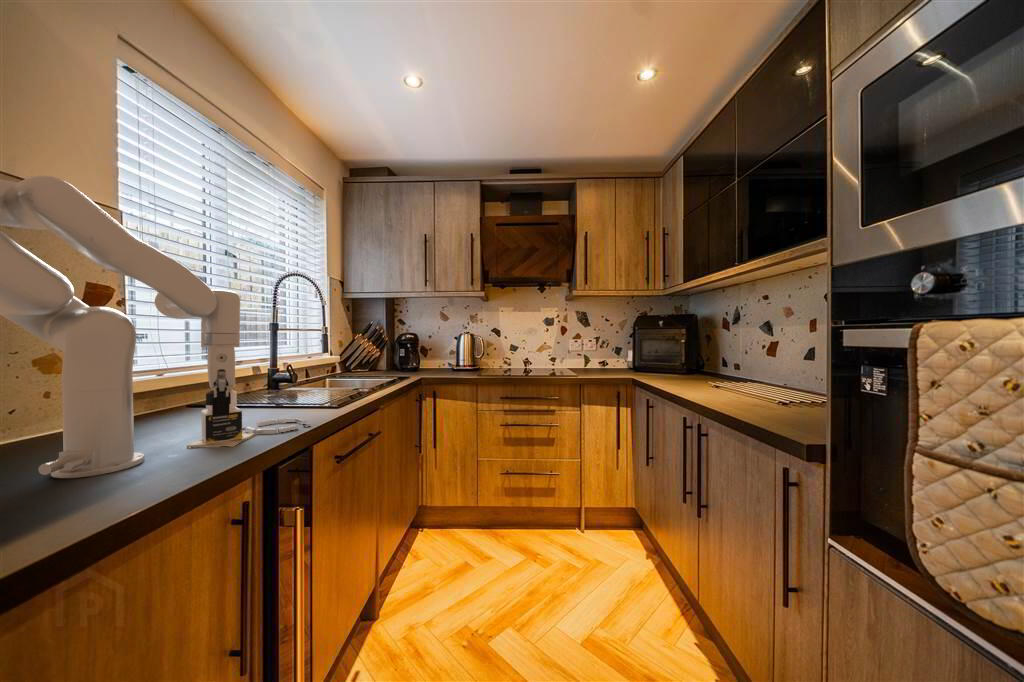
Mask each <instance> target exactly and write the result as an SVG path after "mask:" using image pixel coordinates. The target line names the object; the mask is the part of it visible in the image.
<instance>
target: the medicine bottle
mask: <svg viewBox="0 0 1024 682" xmlns="http://www.w3.org/2000/svg"><path fill="white" fill-rule="evenodd" d="M228 391H229V397H230V404H229V414H222V415H213V414H212V398H214V390H213V391H212V390H210V391H208V392H206V393H205V409H202V410H201V412H200V413H201V415H200V416H201V438H202V439H203V440H204V442H205V443H206V444H212V443H218V442H224V441H231V440H237V439H242V434H243V430H242V428H243V411H242V410H241V409H240V408H238V407H237V406H238V404H237V403H238V402H237V401H238V400H237V399H238V398H237V397H238V396H237V395H238V394H237V393H238V392H237V391H236V390H235V389H231V388H230V389H229V388H228ZM202 439H201V440H202Z"/></svg>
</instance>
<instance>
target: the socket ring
mask: <svg viewBox="0 0 1024 682" xmlns="http://www.w3.org/2000/svg"><path fill="white" fill-rule="evenodd" d="M286 422H298V423H301V424H305V423H308V422H307V420H306V419H303V418H300V417H298V418H296V417H292V418H291V417H290V418H289V417H288V418H277V419H276V418H274V419H267V420H261V421H257V422H256V426H257V427H258V428H255V427H252V426H244V427H242V431H245V432H244V433H247V432H248V433H255V436H256V435H273V434H274V435H275V434H282V433H281V432H284V433H287V432H286V431H289V432H291V431H290V430H294V431H296V430H295V429H298V430H299V424H294V425H288V426H284V427H278V428H276V427H275V428H274V427H273V428H259V427H264V426H271V425H276V423H277V424H287V423H286ZM270 424H271V425H270ZM301 424H300V425H301ZM310 425H311V424H306V425H303V426H310ZM310 427H311V426H310ZM244 429H245V430H244Z"/></svg>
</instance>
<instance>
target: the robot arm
mask: <svg viewBox="0 0 1024 682" xmlns="http://www.w3.org/2000/svg"><path fill="white" fill-rule="evenodd" d="M0 226H3V227H10V228H20V229H28V230H29V229H30V230H38V231H39V230H42V231H43V230H44V231H45V230H46V231H47V230H48V231H49V232H51V233H52V234H54V235H55V236H57V237H58V238H60V239H61V240H62V241H64V242H65V243H66V244H68V245H69V246H71V247H72V248H73V249H75V250H76V251H77V252H79V253H80V254H81V255H83V256H84V257H86V258H87V259H88V260H89V261H91V262H92V263H93V264H95V265H97V266H98V267H101V268H102V269H104V270H107V271H109V272H113V273H115V274H119V275H123V276H124V277H125V276H126V277H129V278H130V279H133V280H135V281H138V282H140V283H142V284H144V285H146V286H148V287H149V288H150V289H153V291H156V292H157V294H156V295H155V298H154V305H155V307H156V309H157V311H158V312H159V313H160V314H162V315H163V316H165V317H168V318H171V319H176V320H177V319H178V320H185V319H201V326H200V327H201V328H200V329H201V334H200V335H201V337H200V340H201V341H200V347H201V348H207V350H206V351H207V361H206V362H207V364H206V365H207V380H208V384H209V387H210V388H211V391H213V390H214V398H212V414H213V415H222V414H229V404H230V397H229V391H228V389H229V386H230V387H231V388H235V387H236V349H235V348H240V346H241V345H240V339H241V338H240V336H241V333H240V331H241V329H240V327H241V326H240V325H241V324H240V323H241V297H240V295H239V293H237V292H235V291H232V290H226V289H212V288H211V287H210V286H209V285H207V283H206V282H204V281H203V280H202V279H201V278H200V277H199V276H197V275H196V274H195V273H194V272H193V271H191V270H190V269H189V268H188V267H187V266H185V265H183V264H182V263H181V262H179V261H177V260H176V259H174V258H173V257H171V256H169V255H167V254H166V253H164V252H162V251H160V250H159V249H158V248H155V247H154V246H152V245H149V244H148V243H147V242H144V241H142V240H141V239H140V238H138V237H136V236H135V235H134V234H133V233H132V232H130V231H129V230H128V229H127V228H126V227H124V226H123V225H122V224H120V223H119V222H118V220H116V219H115V218H113V217H112V216H111V215H110V214H109V213H108V212H106V211H104V209H102V208H101V207H100V206H99V205H98V204H96V203H95V202H94V201H93V200H92V199H90V197H88V196H87V195H85V194H84V193H83V192H82V191H81V190H79V189H78V188H77V187H75V186H73V184H71V183H69V182H67V181H66V180H64V179H61V178H59V177H56V176H53V175H51V176H50V175H37V176H36V175H35V176H31V177H27V178H25V179H23V180H21V181H11V180H6V179H1V178H0ZM0 316H2V317H4V318H5V319H6V320H8V321H10V322H12V323H13V324H14V325H16V326H19V327H20V328H21V329H23V330H25V331H27V332H28V333H30V334H31V335H34V336H35V337H37V338H38V339H41V340H42V341H44V342H45V343H47V344H48V345H50V346H53V348H56V349H58V350H60V351H62V352H63V358H62V359H63V360H62V367H61V369H62V370H61V391H62V392H61V395H62V397H61V400H62V401H61V402H62V405H61V406H62V440H63V441H62V442H63V445H62V446H63V448H62V449H63V450H62V451H61V452H60V451H59V452H58V458H57V459H55V460H52V461H48V462H45V463H42V464H40V465H39V466H38V472H39V474H41V475H42V476H43V475H45V476H46V475H49V474H50V476H51V477H52V478H55V479H56V478H57V479H76V478H86V477H87V478H88V477H93V476H99V475H104V474H109V473H114V472H119V471H123V470H126V469H129V468H132V467H135V466H138V465H140V464H141V463H144V461H145V453H142V452H135V438H134V436H135V433H134V431H135V429H134V426H135V425H134V385H133V382H134V381H133V379H134V378H133V376H134V375H133V374H134V373H133V371H134V370H133V368H134V356H135V350H136V344H137V343H136V342H137V331H136V328H135V325H134V323H133V321H132V320H131V318H129V316H128V315H126V314H124V313H123V312H121V311H120V310H117V309H115V308H111V307H107V306H89V305H88V304H86V303H84V302H83V301H82V300H80V299H79V298H77V297H76V296H75V289H74V286H73V285H72V282H71V281H70V280H69V279H68V278H67V276H65V275H63V274H62V273H61V272H60V271H58V270H57V269H55V268H54V267H52V266H51V265H49V264H48V263H46V262H45V261H43V260H41V258H39V257H37V256H36V255H34V254H33V253H31V252H30V251H28V250H27V249H26V248H24V247H23V246H21V244H19V243H17V242H16V241H15V240H14V239H12V238H11V237H10V236H9V235H7V233H5V232H4V231H2V230H1V229H0Z"/></svg>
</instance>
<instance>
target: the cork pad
mask: <svg viewBox="0 0 1024 682" xmlns="http://www.w3.org/2000/svg"><path fill="white" fill-rule="evenodd" d="M255 436H256V434H255V433H247V432H245V433H242V439H237V440H231V441H224V442H218V443H212V444H206V443H205V442H204V440H203V439H200V440H197V441H194V442H192V443H190V444H187V445H186V449H190V448H189V447H206V448H221V447H220V446H229V447H236V446H237V444H238V445H240V444H242V443H244V442H246V441H247V439H248V440H249V439H251V438H253V437H255ZM245 440H246V441H245ZM243 441H244V442H243ZM241 442H242V443H241ZM239 443H240V444H239ZM235 445H236V446H235Z"/></svg>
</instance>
